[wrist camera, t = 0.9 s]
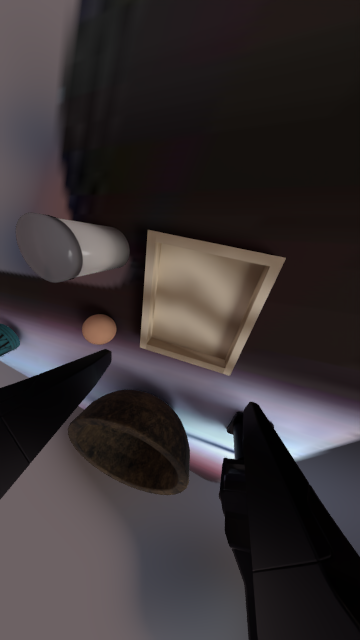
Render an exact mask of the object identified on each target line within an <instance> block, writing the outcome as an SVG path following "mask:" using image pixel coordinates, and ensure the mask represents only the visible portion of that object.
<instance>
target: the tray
mask: <svg viewBox="0 0 360 640" xmlns="http://www.w3.org/2000/svg"><path fill="white" fill-rule="evenodd" d="M285 259H286V258H283V257H279V256H274V255H269V254H264V253H259V252H254V251H249V250H244V249H240V248H235V247H230V246H225V245H220V244H215V243H210V242H205V241H200V240H195V239H191V238H186V237H181V236H176V235H171V234H166V233H161V232H156V231H151V230H148V235H147V250H146V265H145V280H144V295H143V309H142V324H141V339H140V348H144V349H147V350H150V351H153V352H156V353H159V354H163V355H166V356H169V357H172V358H175V359H178V360H182V361H185V362H188V363H191V364H194V365H197V366H201V367H204V368H207V369H210V370H213V371H217V372H220V373H223V374H226V375H229V376H230V374H231V372H232V370H233V368H234V366H235V364H236V362H237V360H238V357H239V355H240V353H241V351H242V349H243V347H244V345H245V343H246V341H247V339H248V336H249V334H250V332H251V330H252V328H253V326H254V324H255V322H256V320H257V318H258V316H259V313H260V311H261V309H262V307H263V305H264V303H265V301H266V299H267V297H268V295H269V292H270V290H271V288H272V286H273V284H274V282H275V280H276V278H277V276H278V274H279V271H280V269H281V267H282V265H283V263H284V261H285Z"/></svg>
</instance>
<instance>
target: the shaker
mask: <svg viewBox="0 0 360 640" xmlns="http://www.w3.org/2000/svg"><path fill="white" fill-rule="evenodd" d="M16 239H17V243H18V247H19V249H20V252H21V254H22V256H23V258H24V259H25V261H26V262H27V264H28V265H29V266H30V268H31V269H32V270H33V271H34V272H35V273H36V274H38V275H39V276H40V277H42V278H43V279H45V280H47V281H50V282H62V281H66V280H71V279H74V278H75V277H79V276H83V275H88V274H93V273H97V272H101V271H106V270H110V269H115V268H119V267H122V266H124V265H125V264H126V263H127V261H128V259H129V255H130V249H129V244H128V241H127V239H126V237H125V236H124V235H123V233H122V232H121V231H119V230H118V229H116V228H114V227H109V226H102V225H96V224H90V223H84V222H77V221H71V220H65V219H59V218H56V217H53V216H49V215H43V214H37V213H26V214H24V215H23V216H21V217H20V219H19V220H18V222H17V226H16Z"/></svg>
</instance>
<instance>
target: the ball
mask: <svg viewBox="0 0 360 640" xmlns="http://www.w3.org/2000/svg"><path fill="white" fill-rule="evenodd" d="M82 333H83V336H84V337H85V339H86V340H87V341H89V342H90V343H93V344H97V345H100V344H105V343H107V342H109V341H111V340H112V339H113V337H114V336H115V334H116V324H115V322H114V321H113V319H112V318H110V317H109V316H107V315H103V314H96V315H93V316H91V317H89V318H88V319H87V320H86V321H85V322H84V324H83V327H82Z"/></svg>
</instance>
